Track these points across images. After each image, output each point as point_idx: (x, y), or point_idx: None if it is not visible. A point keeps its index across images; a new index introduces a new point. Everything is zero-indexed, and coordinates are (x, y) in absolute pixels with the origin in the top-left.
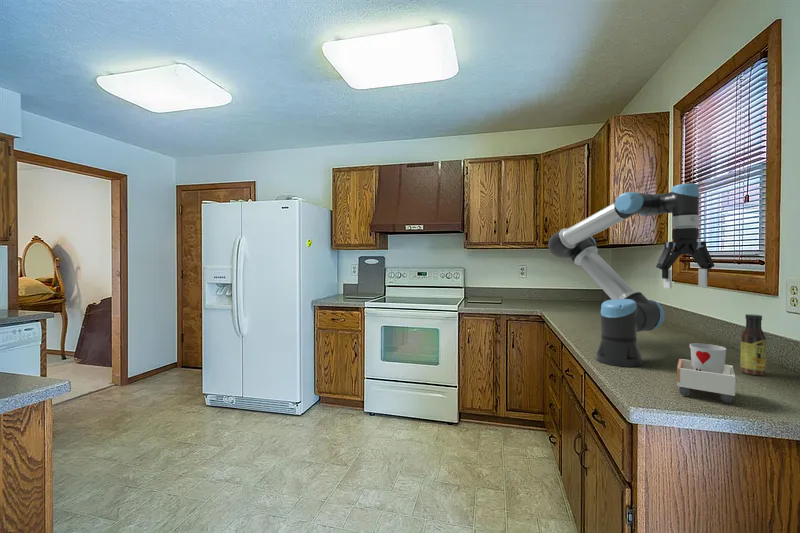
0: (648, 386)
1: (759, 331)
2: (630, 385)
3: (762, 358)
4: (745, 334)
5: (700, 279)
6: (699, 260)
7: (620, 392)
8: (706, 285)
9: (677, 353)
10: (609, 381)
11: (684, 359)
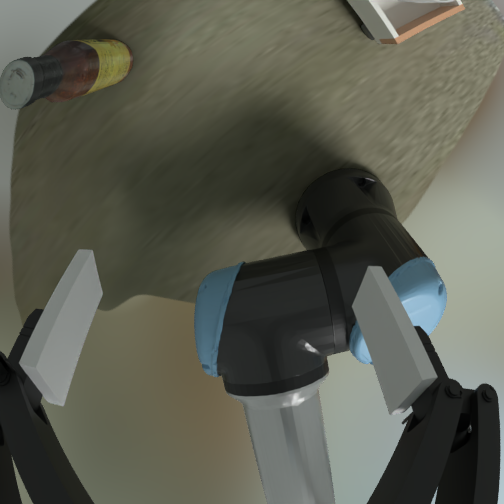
0: (437, 63)
1: (53, 51)
2: (458, 82)
3: (95, 39)
4: (83, 70)
5: (82, 321)
6: (61, 473)
7: (492, 70)
8: (77, 258)
9: (139, 240)
10: (470, 115)
11: (392, 33)
